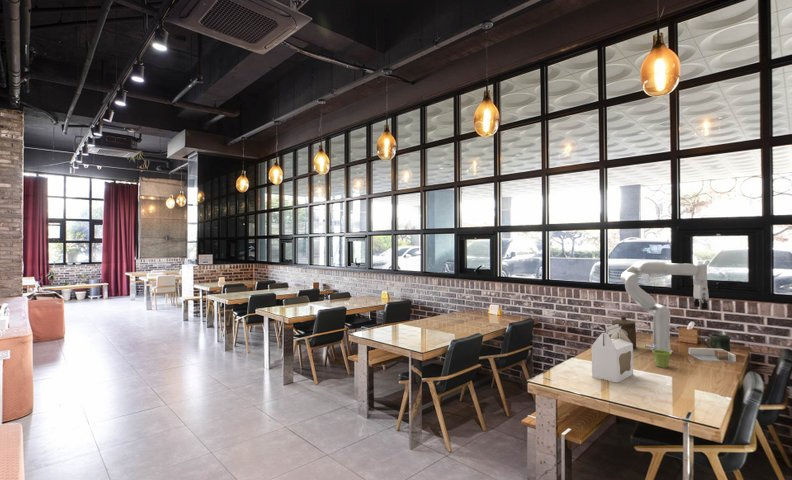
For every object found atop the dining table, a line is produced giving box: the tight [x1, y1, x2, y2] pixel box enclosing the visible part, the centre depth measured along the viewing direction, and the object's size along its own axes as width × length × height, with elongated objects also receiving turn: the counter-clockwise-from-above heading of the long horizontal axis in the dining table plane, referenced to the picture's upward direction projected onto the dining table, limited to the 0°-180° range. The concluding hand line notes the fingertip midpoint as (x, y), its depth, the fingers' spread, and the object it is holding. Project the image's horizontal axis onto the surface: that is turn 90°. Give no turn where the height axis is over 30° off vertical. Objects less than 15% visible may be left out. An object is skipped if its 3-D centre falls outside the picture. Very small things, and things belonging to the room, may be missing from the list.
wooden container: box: [611, 315, 637, 350], centre depth 289 cm, size 15×15×22 cm
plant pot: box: [652, 350, 672, 369], centre depth 242 cm, size 9×9×9 cm
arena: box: [688, 347, 737, 363], centre depth 256 cm, size 19×15×5 cm
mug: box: [702, 333, 732, 353], centre depth 270 cm, size 11×15×12 cm
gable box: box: [591, 324, 634, 384], centre depth 226 cm, size 22×13×28 cm, turn 129°
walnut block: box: [714, 350, 728, 360], centre depth 253 cm, size 5×5×5 cm
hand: (700, 307), depth 270 cm, fingers open, 9 cm apart
